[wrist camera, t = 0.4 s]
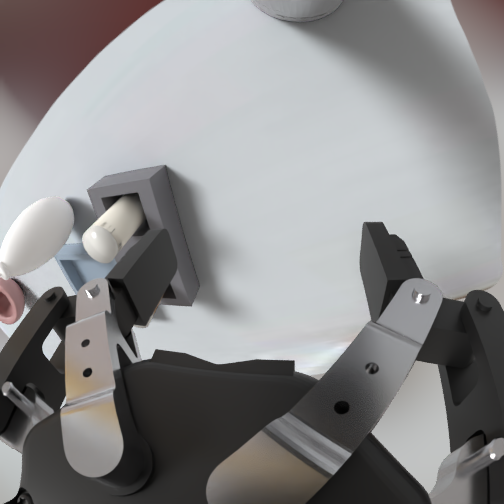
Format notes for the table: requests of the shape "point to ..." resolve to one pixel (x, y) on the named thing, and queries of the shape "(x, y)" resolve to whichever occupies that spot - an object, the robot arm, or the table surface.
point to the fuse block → (151, 222)
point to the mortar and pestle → (10, 301)
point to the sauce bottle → (36, 236)
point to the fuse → (114, 228)
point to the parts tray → (81, 265)
